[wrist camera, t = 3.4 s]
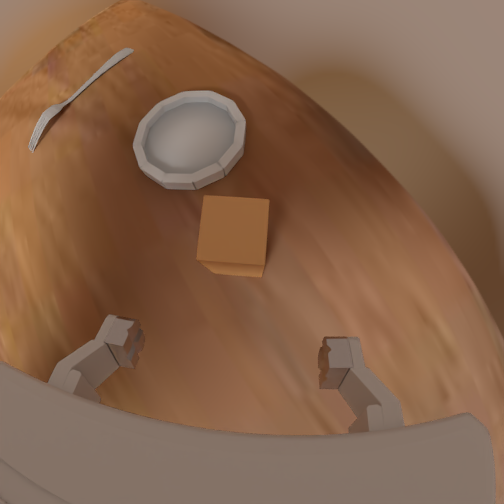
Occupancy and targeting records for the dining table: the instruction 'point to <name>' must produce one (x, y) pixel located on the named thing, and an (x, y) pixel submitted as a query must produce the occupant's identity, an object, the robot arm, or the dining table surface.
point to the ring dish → (190, 140)
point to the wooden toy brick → (233, 235)
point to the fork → (56, 108)
